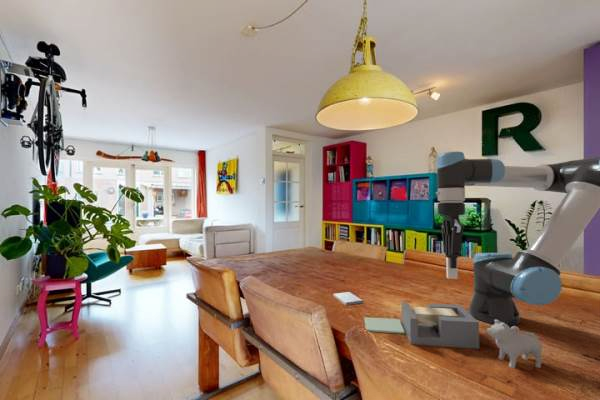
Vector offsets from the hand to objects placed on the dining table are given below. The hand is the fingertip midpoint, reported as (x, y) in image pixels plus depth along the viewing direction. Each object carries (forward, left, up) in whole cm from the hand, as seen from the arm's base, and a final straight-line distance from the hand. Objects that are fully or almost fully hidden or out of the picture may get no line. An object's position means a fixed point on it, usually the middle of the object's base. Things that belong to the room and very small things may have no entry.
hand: (452, 277), depth 88 cm
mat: (+20, -5, -18) cm, 28 cm away
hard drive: (+32, -30, -19) cm, 48 cm away
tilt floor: (+5, 0, -14) cm, 15 cm away
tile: (+5, 0, -14) cm, 15 cm away
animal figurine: (-11, +13, -18) cm, 25 cm away
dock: (+5, 0, -18) cm, 19 cm away
